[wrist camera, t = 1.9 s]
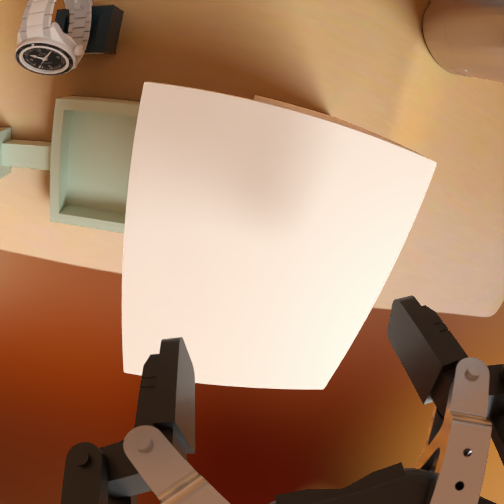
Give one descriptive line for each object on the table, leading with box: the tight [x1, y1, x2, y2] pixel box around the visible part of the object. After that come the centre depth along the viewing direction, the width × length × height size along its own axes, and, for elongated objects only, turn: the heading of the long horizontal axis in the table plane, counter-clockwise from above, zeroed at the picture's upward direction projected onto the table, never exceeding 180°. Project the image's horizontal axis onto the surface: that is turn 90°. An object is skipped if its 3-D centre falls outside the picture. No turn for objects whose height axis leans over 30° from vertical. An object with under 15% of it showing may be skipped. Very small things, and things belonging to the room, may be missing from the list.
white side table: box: [122, 82, 437, 389], centre depth 24 cm, size 14×17×17 cm
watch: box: [15, 0, 123, 75], centre depth 17 cm, size 6×8×11 cm
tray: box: [0, 96, 140, 233], centre depth 26 cm, size 22×12×3 cm, turn 76°
